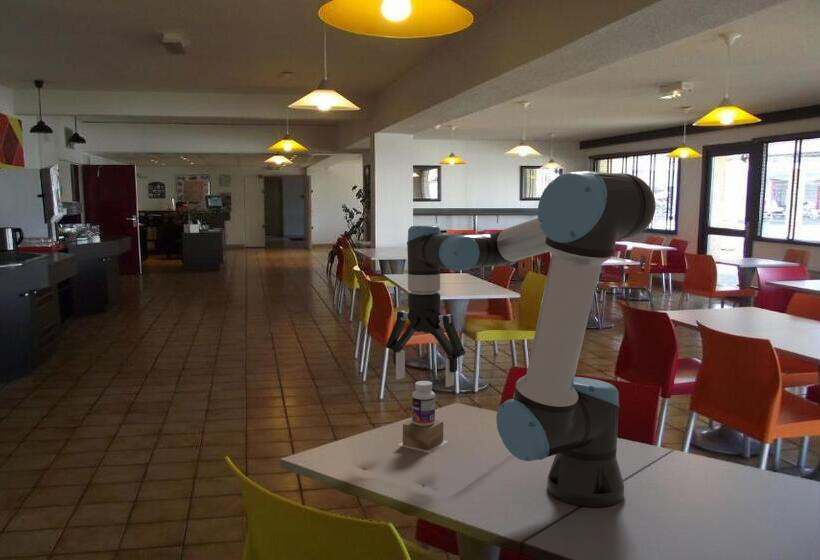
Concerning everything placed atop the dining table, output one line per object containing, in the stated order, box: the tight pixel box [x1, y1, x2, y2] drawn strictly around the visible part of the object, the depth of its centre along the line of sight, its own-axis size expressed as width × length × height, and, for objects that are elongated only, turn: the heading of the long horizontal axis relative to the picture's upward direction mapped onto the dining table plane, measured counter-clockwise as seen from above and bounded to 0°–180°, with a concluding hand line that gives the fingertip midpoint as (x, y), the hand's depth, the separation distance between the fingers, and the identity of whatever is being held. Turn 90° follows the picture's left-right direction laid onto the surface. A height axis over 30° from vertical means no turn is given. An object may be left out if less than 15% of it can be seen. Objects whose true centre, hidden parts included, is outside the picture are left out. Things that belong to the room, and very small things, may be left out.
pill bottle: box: [411, 380, 436, 426], centre depth 158 cm, size 5×5×10 cm
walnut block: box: [402, 419, 444, 451], centre depth 159 cm, size 7×7×5 cm
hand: (424, 382), depth 157 cm, fingers open, 13 cm apart
